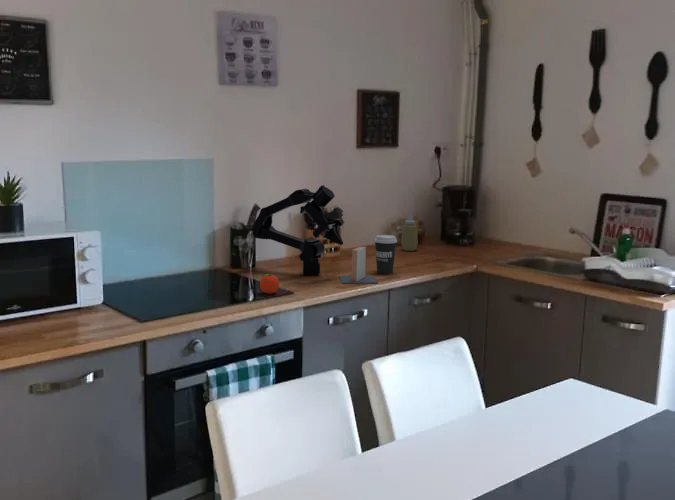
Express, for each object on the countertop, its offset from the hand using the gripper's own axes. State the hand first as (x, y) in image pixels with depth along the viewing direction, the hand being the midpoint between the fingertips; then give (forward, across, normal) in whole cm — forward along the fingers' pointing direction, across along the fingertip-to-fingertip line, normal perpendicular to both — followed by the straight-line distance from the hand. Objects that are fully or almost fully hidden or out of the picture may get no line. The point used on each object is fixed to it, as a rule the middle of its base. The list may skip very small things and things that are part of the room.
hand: (342, 244), depth 276 cm
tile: (+10, 0, 0) cm, 10 cm away
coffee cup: (+18, +18, +2) cm, 26 cm away
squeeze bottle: (+13, +70, +6) cm, 71 cm away
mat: (+15, 0, +4) cm, 15 cm away
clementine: (0, -34, +19) cm, 39 cm away
